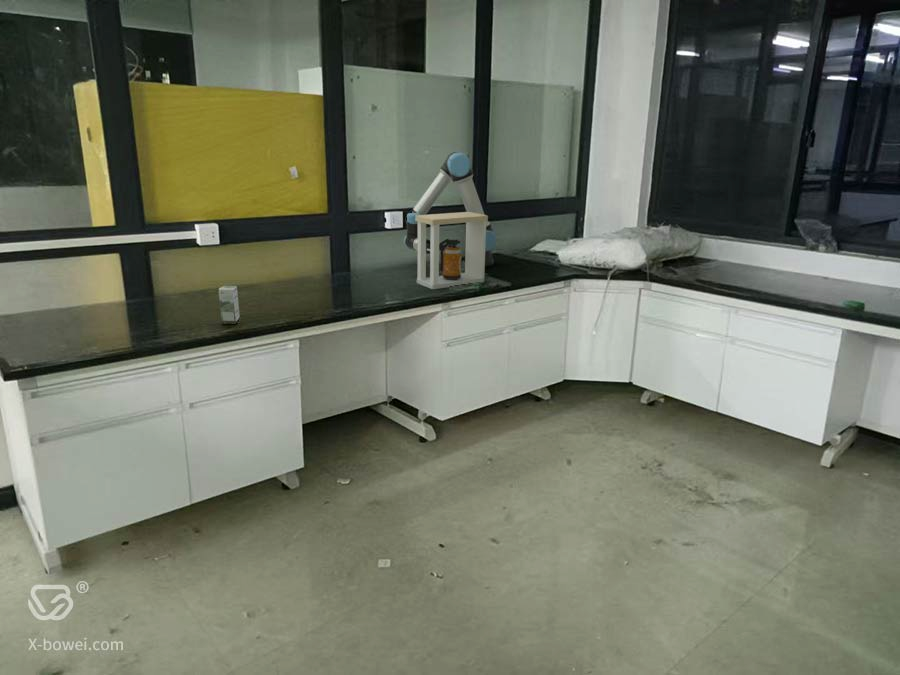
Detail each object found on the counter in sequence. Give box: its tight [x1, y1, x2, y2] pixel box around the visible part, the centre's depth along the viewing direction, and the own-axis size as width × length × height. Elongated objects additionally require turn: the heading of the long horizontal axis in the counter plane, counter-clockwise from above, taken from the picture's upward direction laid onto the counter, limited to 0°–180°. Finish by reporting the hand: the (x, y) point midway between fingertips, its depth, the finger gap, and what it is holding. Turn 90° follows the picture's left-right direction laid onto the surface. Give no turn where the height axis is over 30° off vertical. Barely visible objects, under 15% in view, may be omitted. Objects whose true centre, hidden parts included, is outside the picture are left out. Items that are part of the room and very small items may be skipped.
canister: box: [439, 238, 462, 280], centre depth 316 cm, size 9×11×20 cm
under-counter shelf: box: [415, 211, 489, 290], centre depth 315 cm, size 32×16×34 cm, turn 123°
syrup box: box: [218, 285, 241, 322], centre depth 248 cm, size 6×6×14 cm
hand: (445, 252), depth 320 cm, fingers open, 13 cm apart
